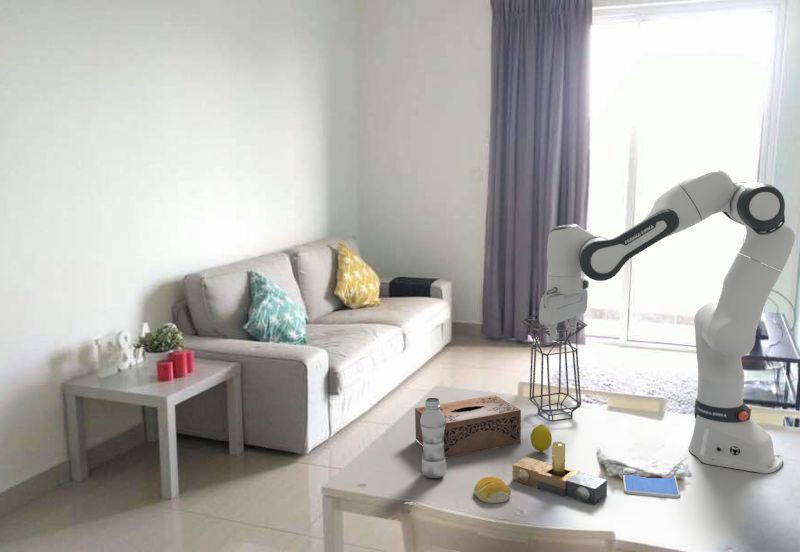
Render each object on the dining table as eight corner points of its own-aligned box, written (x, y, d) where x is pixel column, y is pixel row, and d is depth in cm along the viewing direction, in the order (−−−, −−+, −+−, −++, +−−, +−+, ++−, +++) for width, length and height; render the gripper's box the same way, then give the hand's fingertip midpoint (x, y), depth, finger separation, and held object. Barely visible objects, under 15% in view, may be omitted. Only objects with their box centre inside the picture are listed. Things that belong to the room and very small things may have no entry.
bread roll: (500, 485, 179) (500, 470, 179) (515, 501, 171) (515, 485, 170) (468, 490, 177) (468, 474, 177) (482, 506, 169) (481, 490, 168)
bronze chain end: (579, 486, 177) (579, 470, 176) (565, 497, 172) (565, 481, 171) (526, 470, 186) (526, 455, 186) (511, 480, 181) (511, 465, 180)
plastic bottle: (426, 483, 181) (424, 405, 178) (418, 472, 188) (416, 397, 184) (450, 479, 183) (449, 402, 179) (441, 468, 189) (440, 394, 186)
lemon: (551, 457, 194) (551, 428, 193) (530, 455, 196) (530, 427, 194) (551, 448, 200) (551, 421, 198) (531, 447, 201) (531, 420, 200)
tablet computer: (621, 462, 191) (621, 457, 191) (672, 466, 188) (672, 461, 188) (624, 495, 173) (624, 490, 173) (680, 500, 170) (680, 495, 169)
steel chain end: (607, 494, 172) (608, 478, 172) (593, 506, 167) (594, 489, 166) (552, 478, 182) (552, 463, 181) (537, 488, 176) (537, 473, 176)
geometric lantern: (590, 422, 219) (589, 308, 212) (541, 429, 215) (539, 313, 209) (566, 404, 234) (565, 297, 228) (520, 410, 231) (518, 302, 224)
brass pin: (567, 486, 177) (567, 443, 175) (561, 491, 175) (561, 447, 173) (555, 483, 179) (556, 440, 177) (549, 488, 177) (550, 444, 175)
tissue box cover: (436, 460, 195) (436, 424, 193) (415, 441, 208) (414, 408, 207) (520, 444, 204) (520, 410, 203) (495, 427, 217) (495, 394, 216)
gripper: (554, 292, 185) (554, 345, 187) (591, 280, 200) (591, 329, 203) (533, 289, 189) (532, 341, 191) (571, 278, 204) (570, 326, 207)
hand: (563, 335), depth 197 cm, fingers open, 8 cm apart
